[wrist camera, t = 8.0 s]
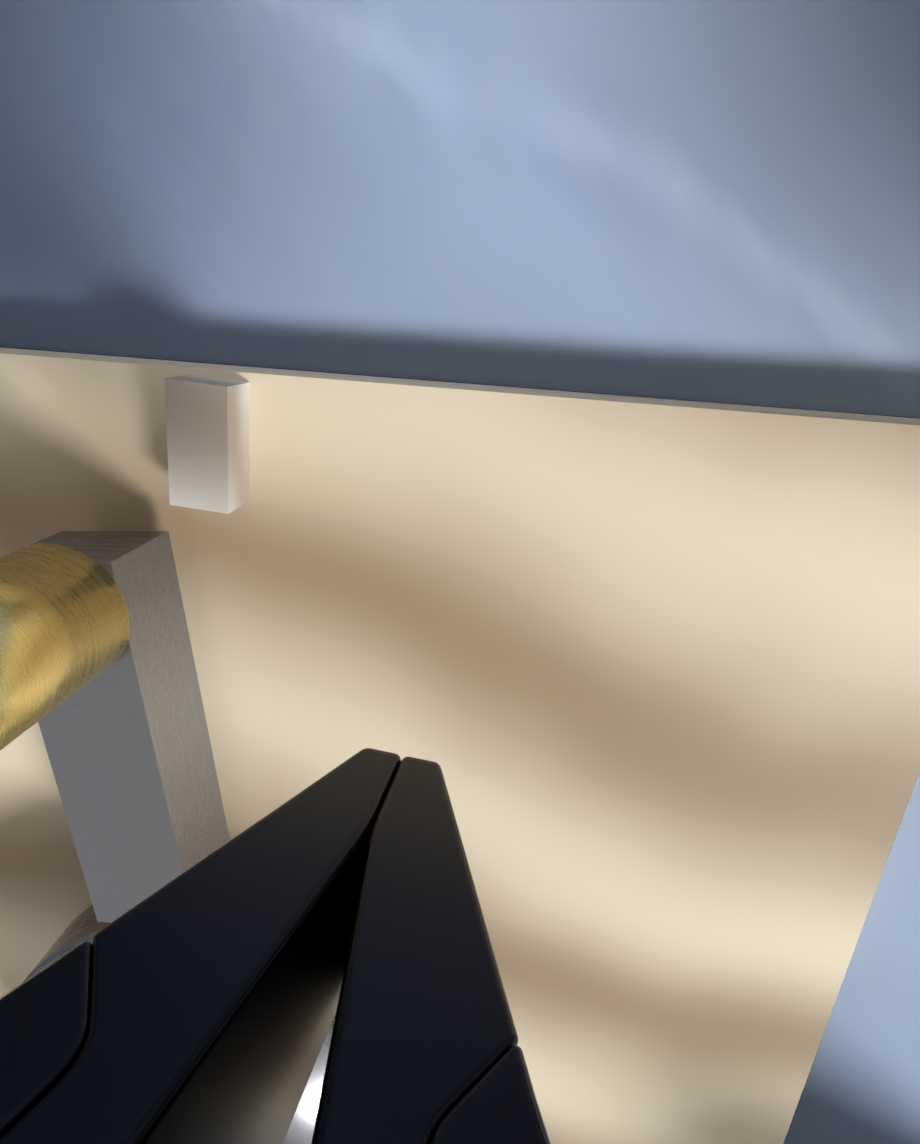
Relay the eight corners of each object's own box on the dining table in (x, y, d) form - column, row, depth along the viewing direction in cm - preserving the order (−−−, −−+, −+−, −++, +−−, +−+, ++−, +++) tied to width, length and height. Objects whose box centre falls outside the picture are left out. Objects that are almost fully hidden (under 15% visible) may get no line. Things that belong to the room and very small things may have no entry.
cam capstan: (429, 1182, 17) (369, 1568, 12) (97, 1136, 18) (-90, 1464, 13) (366, 512, 11) (190, 687, 6) (-118, 515, 12) (-620, 660, 7)
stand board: (712, 1264, 19) (727, 1357, 17) (45, 1124, 21) (0, 1194, 19) (1000, 424, 11) (1082, 444, 9) (-146, 336, 13) (-253, 338, 11)
